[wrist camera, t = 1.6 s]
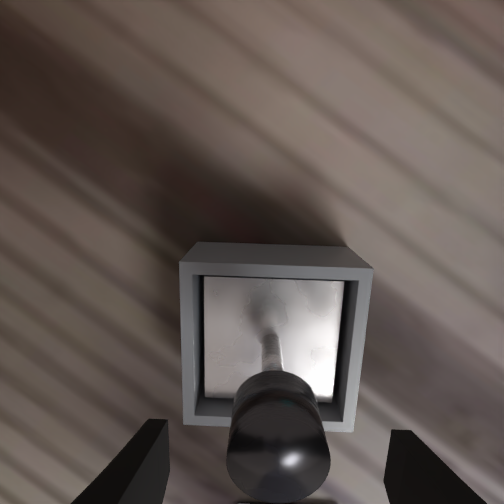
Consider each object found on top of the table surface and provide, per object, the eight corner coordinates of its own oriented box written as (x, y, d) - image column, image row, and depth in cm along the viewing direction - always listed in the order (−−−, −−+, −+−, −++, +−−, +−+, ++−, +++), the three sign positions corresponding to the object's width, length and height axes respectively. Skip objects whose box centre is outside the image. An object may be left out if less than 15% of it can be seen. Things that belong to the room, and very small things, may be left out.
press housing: (334, 379, 21) (353, 432, 17) (198, 373, 22) (183, 424, 17) (348, 246, 19) (373, 268, 15) (197, 241, 19) (179, 261, 15)
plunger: (330, 397, 18) (378, 553, 11) (206, 392, 18) (168, 542, 11) (342, 279, 17) (409, 366, 9) (205, 274, 17) (160, 356, 9)
